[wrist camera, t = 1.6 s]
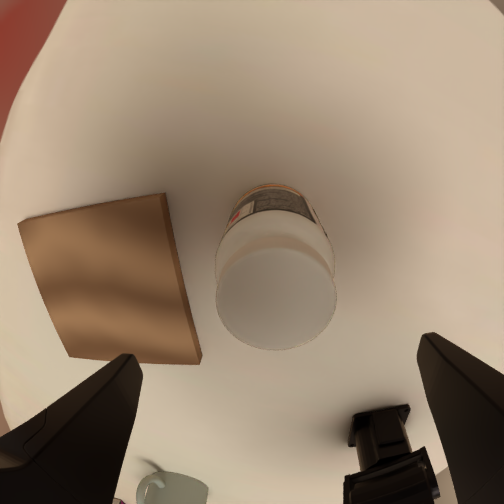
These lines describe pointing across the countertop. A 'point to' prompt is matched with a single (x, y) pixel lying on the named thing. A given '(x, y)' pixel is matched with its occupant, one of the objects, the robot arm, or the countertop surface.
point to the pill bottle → (275, 270)
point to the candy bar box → (117, 501)
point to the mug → (171, 489)
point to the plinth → (113, 281)
